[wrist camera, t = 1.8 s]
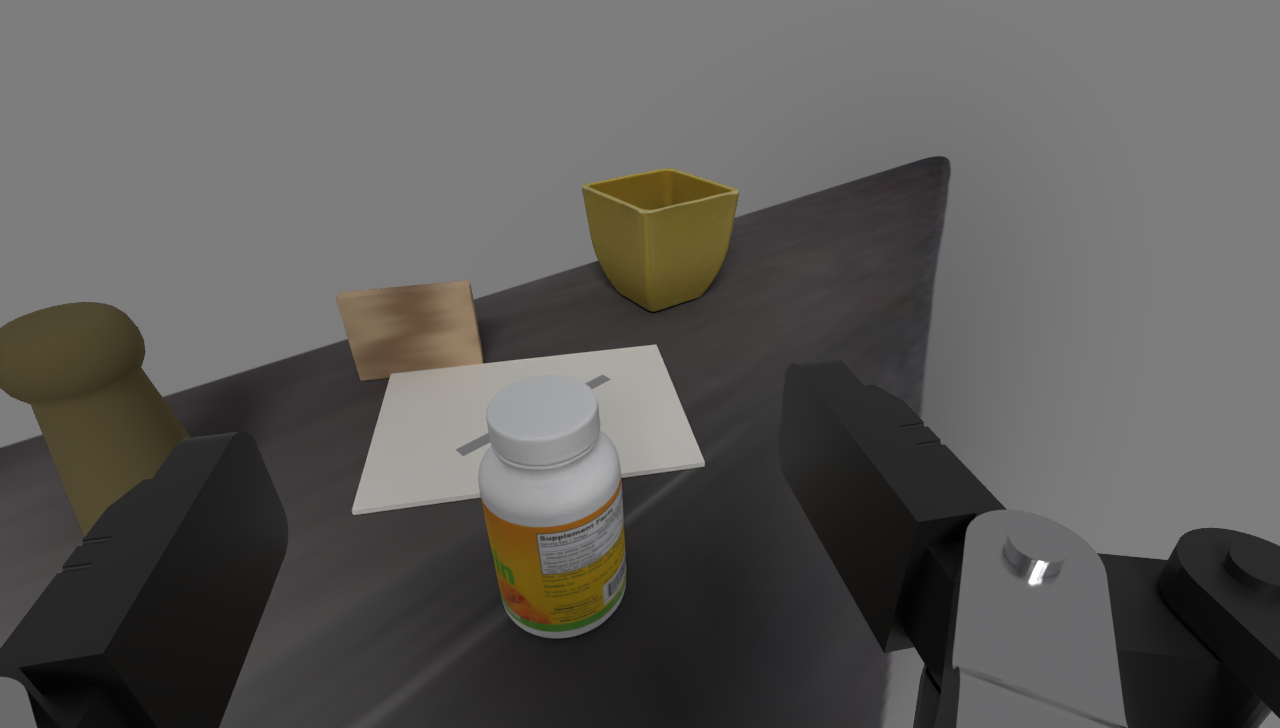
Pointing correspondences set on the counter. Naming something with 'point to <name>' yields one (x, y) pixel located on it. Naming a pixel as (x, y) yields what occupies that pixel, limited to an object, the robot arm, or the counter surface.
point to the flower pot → (660, 233)
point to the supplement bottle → (553, 507)
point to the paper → (458, 433)
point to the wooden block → (411, 328)
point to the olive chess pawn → (89, 400)
